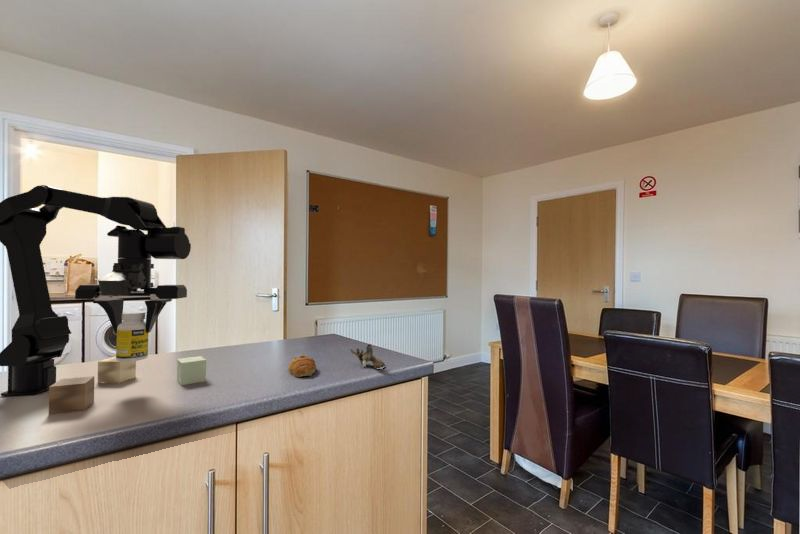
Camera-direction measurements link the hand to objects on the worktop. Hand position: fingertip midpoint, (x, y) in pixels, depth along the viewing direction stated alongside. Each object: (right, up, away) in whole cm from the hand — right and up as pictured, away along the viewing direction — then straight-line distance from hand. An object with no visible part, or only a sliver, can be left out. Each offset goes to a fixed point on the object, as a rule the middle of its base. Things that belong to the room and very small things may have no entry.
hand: (133, 332), depth 77 cm
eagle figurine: (+48, -13, +22) cm, 54 cm away
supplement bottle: (0, -6, 0) cm, 6 cm away
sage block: (+8, -13, +8) cm, 17 cm away
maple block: (-10, -13, +8) cm, 18 cm away
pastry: (+32, -13, +16) cm, 38 cm away
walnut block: (-5, -12, -9) cm, 16 cm away
